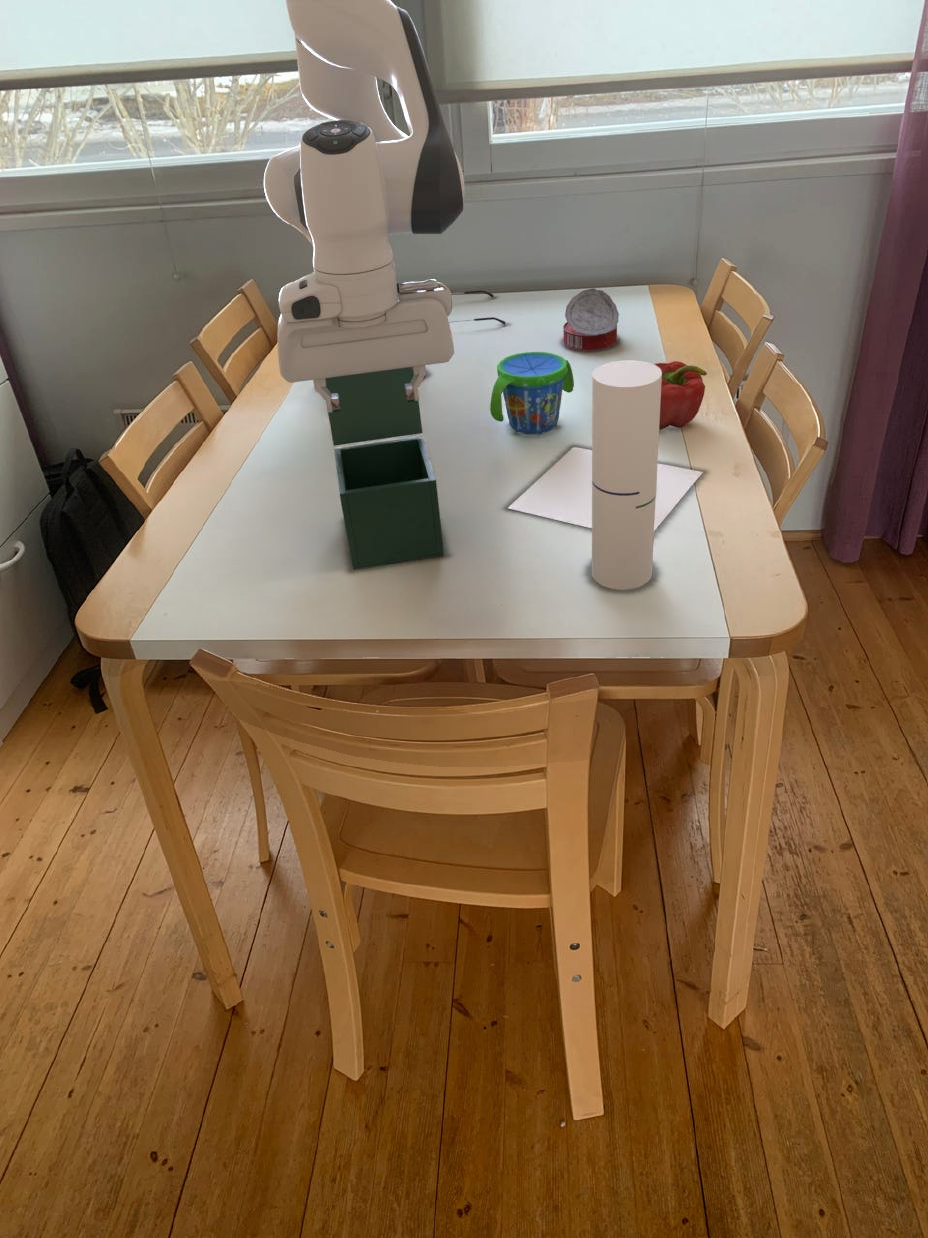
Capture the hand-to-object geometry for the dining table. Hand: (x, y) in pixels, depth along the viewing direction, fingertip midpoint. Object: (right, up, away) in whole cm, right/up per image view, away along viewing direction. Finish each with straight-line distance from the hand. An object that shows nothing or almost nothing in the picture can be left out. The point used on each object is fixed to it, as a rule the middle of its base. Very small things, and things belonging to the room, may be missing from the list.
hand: (373, 404), depth 112 cm
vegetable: (+42, +4, +32) cm, 53 cm away
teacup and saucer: (+30, -8, +17) cm, 36 cm away
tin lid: (-1, +4, +6) cm, 7 cm away
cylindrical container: (+30, -20, 0) cm, 36 cm away
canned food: (+34, +26, +62) cm, 75 cm away
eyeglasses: (+9, +36, +79) cm, 88 cm away
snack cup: (+22, +4, +35) cm, 41 cm away
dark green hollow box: (+2, -15, +11) cm, 19 cm away
